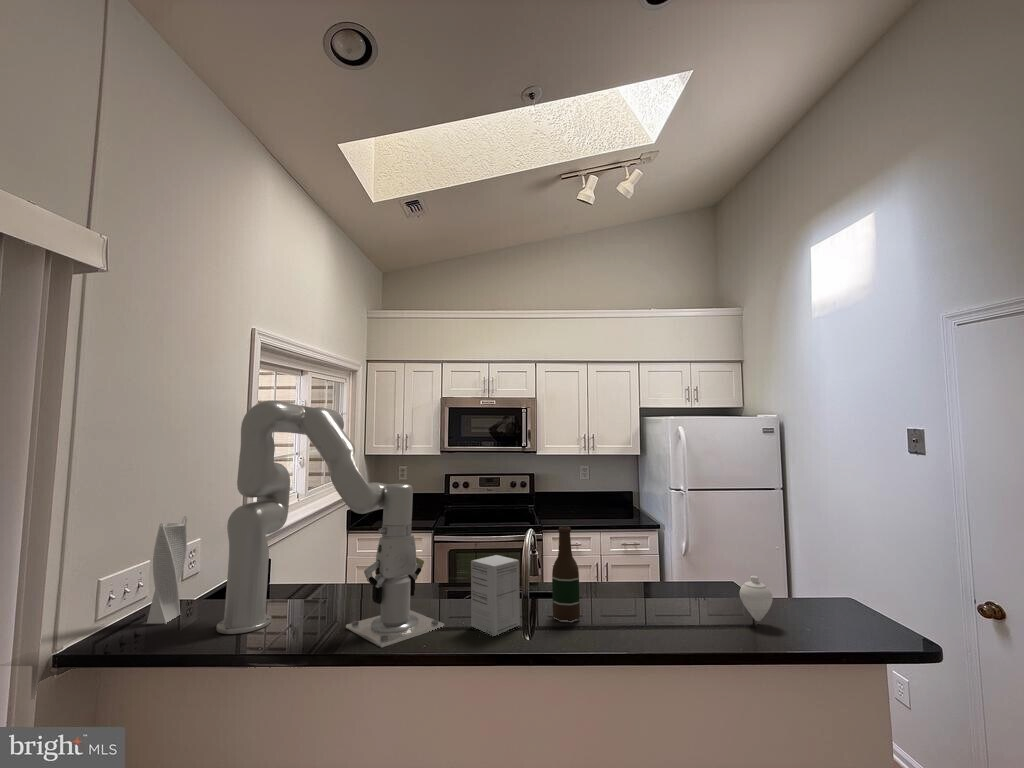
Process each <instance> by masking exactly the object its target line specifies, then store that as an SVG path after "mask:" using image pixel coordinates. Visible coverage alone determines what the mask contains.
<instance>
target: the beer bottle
mask: <svg viewBox="0 0 1024 768" xmlns="http://www.w3.org/2000/svg"><path fill="white" fill-rule="evenodd" d="M557 532H558V552H557V557H556V559H555V561H554V564H553V567H552V570H551V571H552V572H551V574H552V575H551V588H552V589H551V593H552V595H551V596H552V618H553V617H555V618H557V619H559V620H568V621H572V620H575V619H579V620H580V618H579V617H580V615H581V612H580V611H581V606H580V605H581V603H580V601H581V599H580V597H581V596H580V571H579V566H578V563H577V562H576V560H575V558H574V557H573V553H572V552H573V551H572V540H571V532H572V529H571V527H570V526H566V525H565V526H559V527H558V529H557Z"/></svg>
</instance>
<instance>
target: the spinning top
mask: <svg viewBox="0 0 1024 768" xmlns="http://www.w3.org/2000/svg"><path fill="white" fill-rule="evenodd" d="M749 578H750V581H746V582H744V583H743V584H742V586H741V587H740V590H739V598H740V600H741V602H742V603H743V607H745V609H746V610H747V611H748V613H749V614H750V615H751V617H752V618H753V619H754V620H755V621H756V622H757V621H759V622H760V621H762V620H763V618H764V617H765V616H766V614H768V612H769V610H770V608H771V607H772V604H773V599H774V598H773V594H772V592H771V590H770V589H769V588H768V586H767V585H765V583H762V582H761V581H760V582H759V576H757V575H750V577H749Z"/></svg>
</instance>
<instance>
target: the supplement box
mask: <svg viewBox="0 0 1024 768" xmlns="http://www.w3.org/2000/svg"><path fill="white" fill-rule="evenodd" d="M470 575H471V576H470V579H471V580H470V584H471V585H470V590H471V591H470V594H471V595H470V596H471V597H470V598H471V599H470V601H471V602H470V603H471V606H470V609H471V611H470V612H471V613H470V614H471V615H470V617H471V620H470V621H471V623H470V624H471V625H470V627H471V626H472V627H474V628H476V629H479V630H481V631H483V632H486V633H488V634H490V635H489V636H491V635H492V636H491V637H493V636H496V635H498V636H500V635H499V634H501V633H502V632H505V631H507V630H509V629H512V628H514V627H516V626H518V625H520V626H521V611H520V609H521V606H520V605H521V603H520V601H521V600H520V599H521V597H520V594H521V593H520V560H519V559H516V558H511V557H506V556H504V555H498V554H495V555H490V556H485V557H481V558H477V559H473V560H471V561H470ZM476 629H475V630H476ZM481 631H480V632H481ZM483 632H482V633H483ZM486 633H485V634H486ZM488 634H487V635H488ZM501 635H502V634H501ZM496 637H497V636H496Z"/></svg>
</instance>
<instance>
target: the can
mask: <svg viewBox="0 0 1024 768" xmlns="http://www.w3.org/2000/svg"><path fill="white" fill-rule="evenodd" d="M410 586H411V579H410V578H409V576H408V575H404V576H400V577H394V578H392V579H385V580H384V581H383V583H382V584H381V586H380V587H382V603H381V604H380V621H381V622H383V624H384V625H387V626H397V625H401V624H404V623H406V621H407V620H408V619H409V618H410V610H411V596H410Z"/></svg>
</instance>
